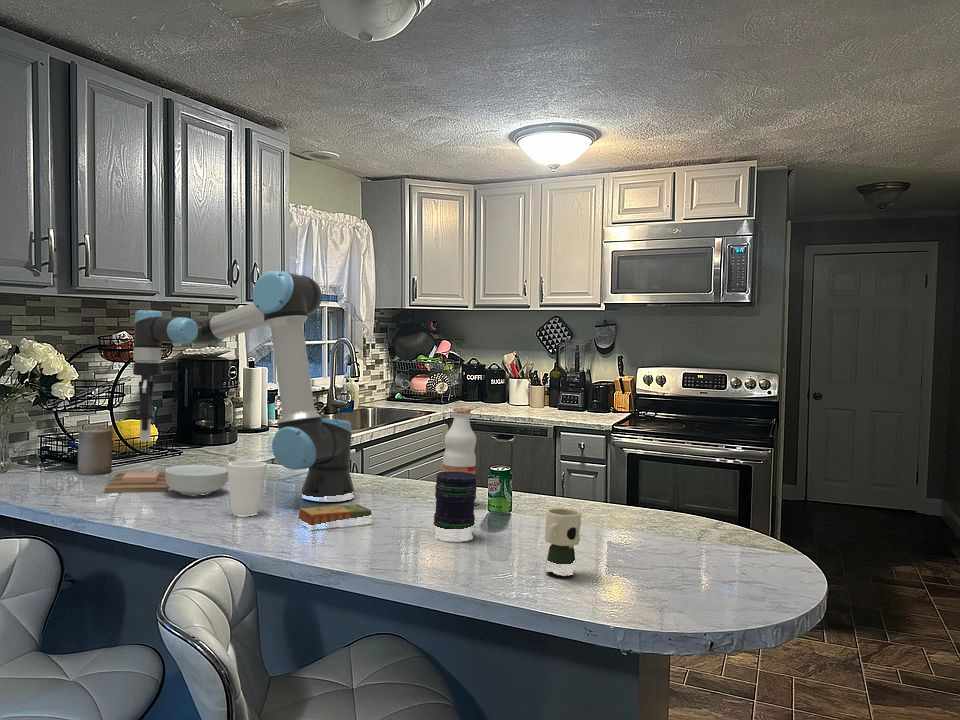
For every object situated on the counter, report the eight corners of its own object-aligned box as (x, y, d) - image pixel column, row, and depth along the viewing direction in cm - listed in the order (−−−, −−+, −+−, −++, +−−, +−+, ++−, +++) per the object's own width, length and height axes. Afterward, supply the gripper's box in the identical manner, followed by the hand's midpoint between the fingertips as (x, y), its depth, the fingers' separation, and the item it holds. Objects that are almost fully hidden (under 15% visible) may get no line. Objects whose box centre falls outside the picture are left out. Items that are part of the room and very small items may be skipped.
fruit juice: (436, 502, 208) (441, 407, 208) (467, 502, 211) (472, 407, 211) (446, 510, 199) (451, 410, 199) (478, 509, 203) (483, 410, 202)
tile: (159, 477, 218) (155, 483, 209) (126, 478, 215) (121, 483, 206) (159, 471, 218) (156, 477, 209) (126, 472, 215) (122, 477, 206)
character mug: (564, 585, 140) (568, 519, 140) (532, 577, 144) (535, 513, 144) (587, 572, 149) (590, 510, 149) (556, 565, 153) (559, 504, 153)
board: (166, 491, 205) (167, 487, 204) (104, 492, 199) (104, 488, 199) (173, 476, 227) (174, 472, 227) (118, 476, 222) (118, 472, 222)
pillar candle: (114, 469, 233) (116, 423, 233) (107, 475, 224) (109, 427, 223) (81, 470, 230) (83, 423, 230) (73, 475, 221) (74, 427, 221)
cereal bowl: (199, 502, 194) (200, 476, 193) (150, 495, 199) (151, 470, 199) (239, 491, 210) (240, 467, 210) (193, 485, 215) (194, 462, 215)
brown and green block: (298, 524, 177) (298, 507, 177) (357, 518, 186) (358, 502, 186) (310, 532, 170) (311, 514, 170) (371, 526, 179) (372, 509, 179)
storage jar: (481, 536, 173) (484, 475, 173) (460, 545, 165) (463, 480, 164) (447, 529, 178) (450, 469, 178) (424, 537, 170) (427, 474, 169)
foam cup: (224, 519, 177) (226, 466, 177) (226, 510, 186) (229, 460, 186) (263, 518, 180) (266, 467, 180) (264, 510, 189) (267, 461, 188)
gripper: (158, 362, 209) (156, 443, 209) (163, 362, 221) (160, 438, 221) (130, 362, 206) (127, 443, 207) (136, 361, 219) (134, 438, 219)
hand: (144, 440), depth 214 cm, fingers closed
